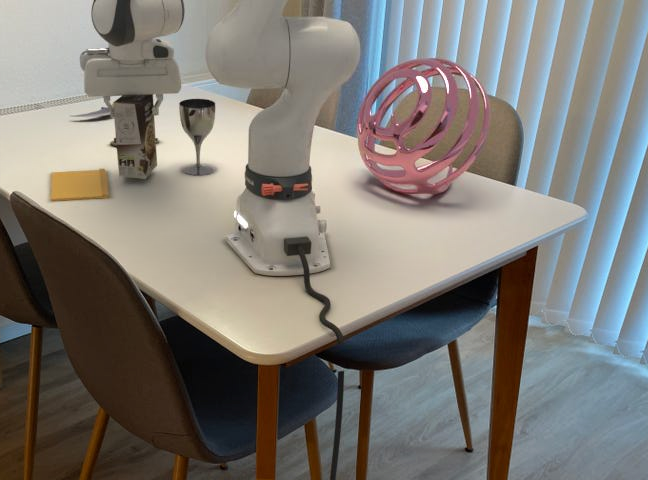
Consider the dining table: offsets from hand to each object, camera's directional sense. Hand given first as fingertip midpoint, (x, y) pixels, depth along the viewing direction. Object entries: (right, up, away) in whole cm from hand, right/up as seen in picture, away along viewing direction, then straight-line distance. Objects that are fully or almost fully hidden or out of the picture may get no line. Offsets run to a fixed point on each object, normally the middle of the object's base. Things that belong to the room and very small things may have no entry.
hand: (134, 115), depth 165 cm
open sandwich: (-4, +1, +28) cm, 28 cm away
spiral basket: (+60, -14, +5) cm, 61 cm away
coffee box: (0, -10, +7) cm, 13 cm away
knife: (-12, +15, +48) cm, 52 cm away
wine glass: (+13, -9, +13) cm, 20 cm away
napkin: (-12, -14, +3) cm, 19 cm away
